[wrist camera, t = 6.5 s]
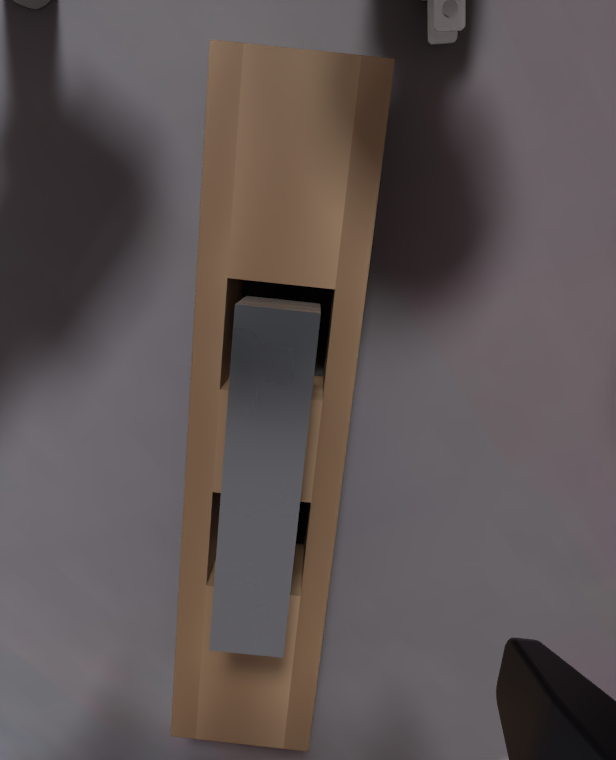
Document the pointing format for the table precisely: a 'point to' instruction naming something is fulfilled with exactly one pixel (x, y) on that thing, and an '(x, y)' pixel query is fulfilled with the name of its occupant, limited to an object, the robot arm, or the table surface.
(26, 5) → the mechanical component
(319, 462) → the rail
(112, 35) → the table surface
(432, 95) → the table surface
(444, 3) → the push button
